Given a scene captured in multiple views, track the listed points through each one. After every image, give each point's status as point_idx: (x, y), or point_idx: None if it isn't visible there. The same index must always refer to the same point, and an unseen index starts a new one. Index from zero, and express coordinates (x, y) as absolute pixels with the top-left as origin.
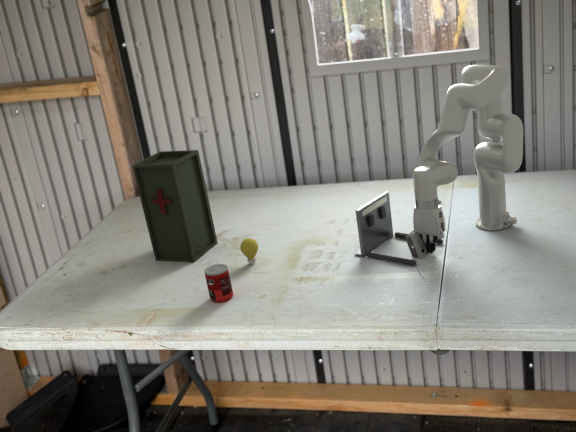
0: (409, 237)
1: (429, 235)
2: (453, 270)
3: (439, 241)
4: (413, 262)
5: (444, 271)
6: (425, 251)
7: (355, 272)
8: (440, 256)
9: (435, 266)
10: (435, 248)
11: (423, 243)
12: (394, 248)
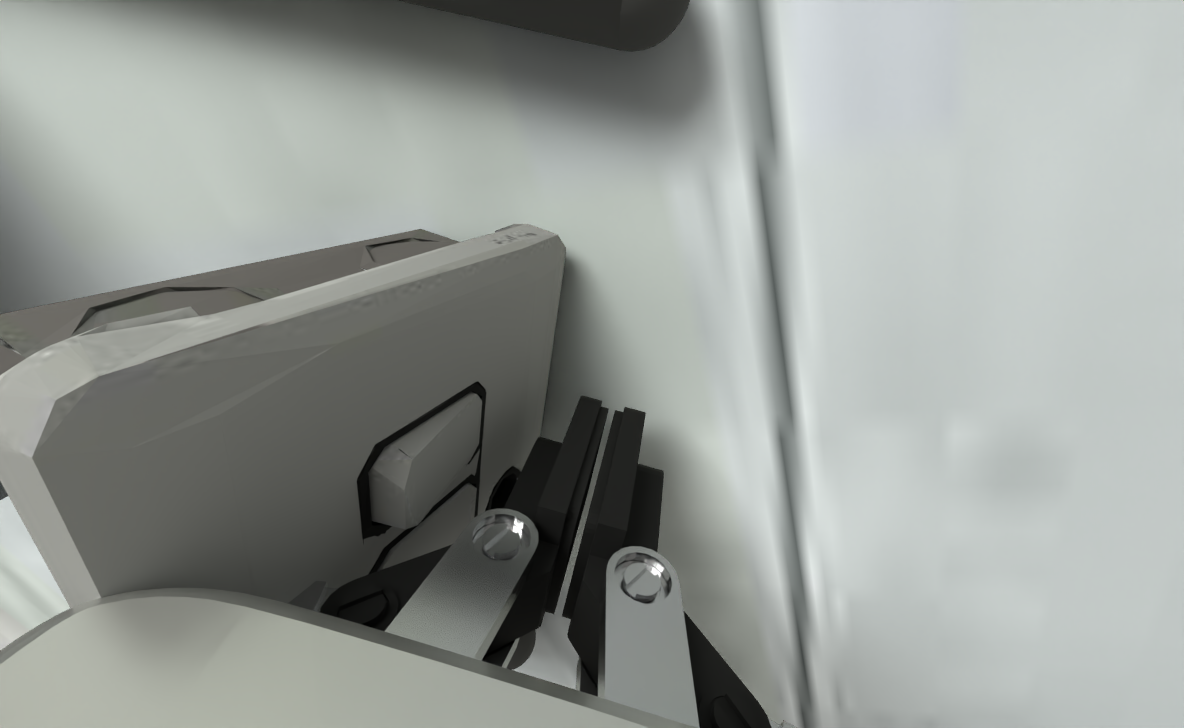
0: None
1: (506, 605)
2: (913, 698)
3: (630, 39)
4: (511, 668)
5: (822, 704)
6: (526, 437)
7: None
8: (731, 442)
9: (719, 630)
10: (662, 478)
11: (454, 485)
12: (114, 268)
